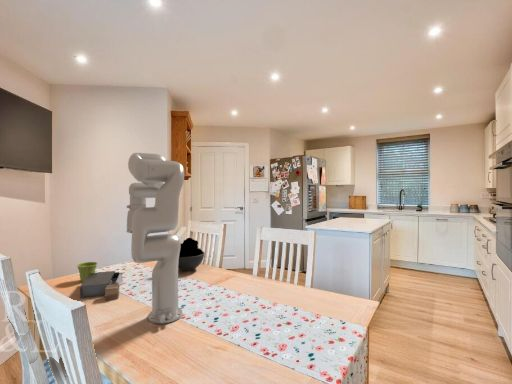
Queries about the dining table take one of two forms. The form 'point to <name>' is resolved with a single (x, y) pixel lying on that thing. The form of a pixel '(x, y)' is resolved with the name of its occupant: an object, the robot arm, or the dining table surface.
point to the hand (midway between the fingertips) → (138, 243)
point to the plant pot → (86, 269)
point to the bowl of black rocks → (190, 255)
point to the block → (112, 292)
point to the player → (97, 283)
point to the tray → (117, 280)
